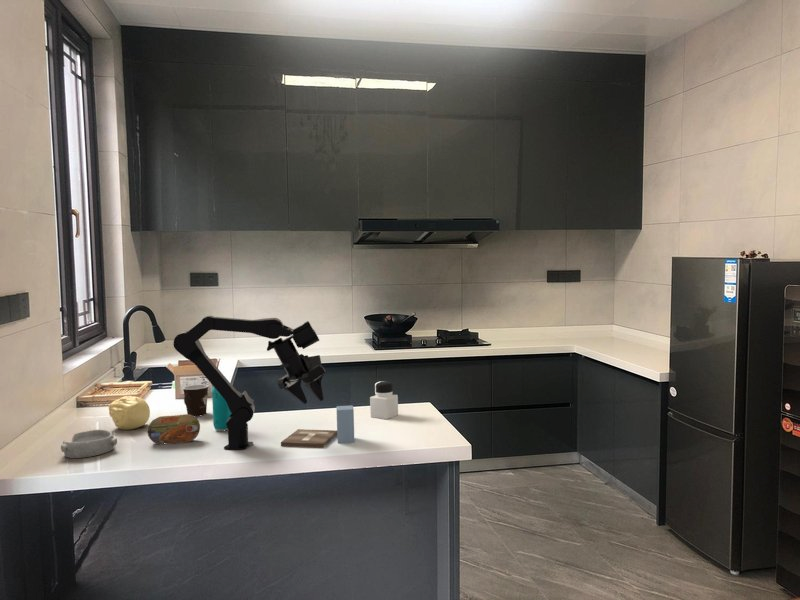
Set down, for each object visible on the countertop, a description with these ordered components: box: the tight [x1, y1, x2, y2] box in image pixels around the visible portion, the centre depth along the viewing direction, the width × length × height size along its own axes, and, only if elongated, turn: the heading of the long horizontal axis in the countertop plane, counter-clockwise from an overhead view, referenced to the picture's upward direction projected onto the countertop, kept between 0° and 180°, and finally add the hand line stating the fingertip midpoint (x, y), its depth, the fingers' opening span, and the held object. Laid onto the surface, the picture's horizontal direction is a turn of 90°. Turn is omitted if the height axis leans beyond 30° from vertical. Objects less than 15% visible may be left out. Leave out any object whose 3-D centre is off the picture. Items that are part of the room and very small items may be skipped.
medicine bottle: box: [369, 380, 399, 420], centre depth 214 cm, size 7×7×12 cm
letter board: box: [280, 428, 337, 449], centre depth 187 cm, size 14×13×1 cm
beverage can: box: [211, 385, 232, 432], centre depth 201 cm, size 6×6×15 cm
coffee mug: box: [182, 384, 209, 417], centre depth 222 cm, size 12×9×10 cm
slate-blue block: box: [336, 405, 355, 444], centre depth 186 cm, size 5×5×10 cm
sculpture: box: [108, 395, 151, 431], centre depth 207 cm, size 12×12×11 cm
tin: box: [147, 413, 201, 445], centre depth 188 cm, size 15×3×8 cm, turn 101°
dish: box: [60, 428, 118, 459], centre depth 181 cm, size 14×14×5 cm
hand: (313, 401), depth 185 cm, fingers open, 9 cm apart
